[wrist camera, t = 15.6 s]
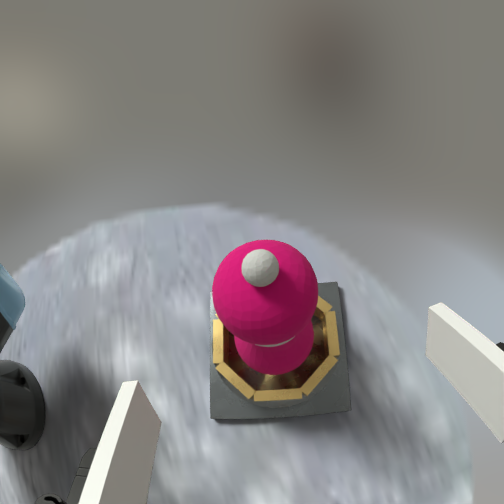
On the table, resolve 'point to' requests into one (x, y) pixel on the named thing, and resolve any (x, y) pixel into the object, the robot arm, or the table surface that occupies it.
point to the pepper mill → (267, 304)
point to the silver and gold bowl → (288, 384)
